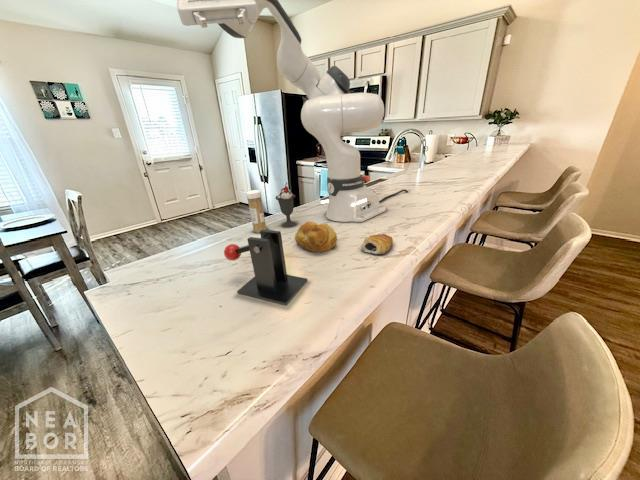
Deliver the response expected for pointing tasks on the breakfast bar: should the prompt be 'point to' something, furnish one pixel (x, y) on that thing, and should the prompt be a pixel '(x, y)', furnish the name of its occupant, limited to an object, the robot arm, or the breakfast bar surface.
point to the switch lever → (243, 249)
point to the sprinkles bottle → (256, 210)
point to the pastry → (377, 244)
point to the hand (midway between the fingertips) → (223, 22)
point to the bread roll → (316, 237)
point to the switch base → (270, 271)
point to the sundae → (286, 205)
